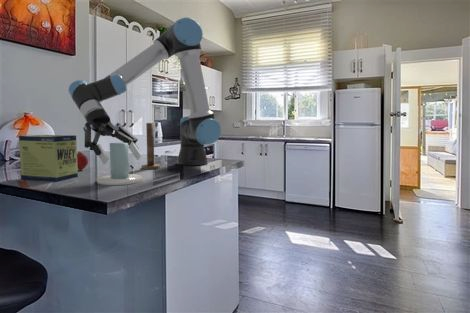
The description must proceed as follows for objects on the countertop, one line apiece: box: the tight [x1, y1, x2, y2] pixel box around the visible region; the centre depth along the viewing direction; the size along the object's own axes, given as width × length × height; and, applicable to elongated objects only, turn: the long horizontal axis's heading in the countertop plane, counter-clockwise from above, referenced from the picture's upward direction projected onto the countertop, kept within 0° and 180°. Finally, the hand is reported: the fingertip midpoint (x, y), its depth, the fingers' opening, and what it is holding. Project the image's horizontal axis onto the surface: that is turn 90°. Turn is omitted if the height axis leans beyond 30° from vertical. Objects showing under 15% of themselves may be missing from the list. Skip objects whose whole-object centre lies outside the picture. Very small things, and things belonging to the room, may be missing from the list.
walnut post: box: [141, 122, 161, 170], centre depth 140 cm, size 8×8×20 cm
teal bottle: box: [109, 142, 130, 179], centre depth 110 cm, size 6×6×12 cm
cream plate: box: [96, 173, 144, 186], centre depth 110 cm, size 15×15×1 cm
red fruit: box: [77, 150, 89, 171], centre depth 133 cm, size 6×6×8 cm
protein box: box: [18, 134, 79, 183], centre depth 114 cm, size 10×16×16 cm
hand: (123, 159), depth 108 cm, fingers open, 13 cm apart
